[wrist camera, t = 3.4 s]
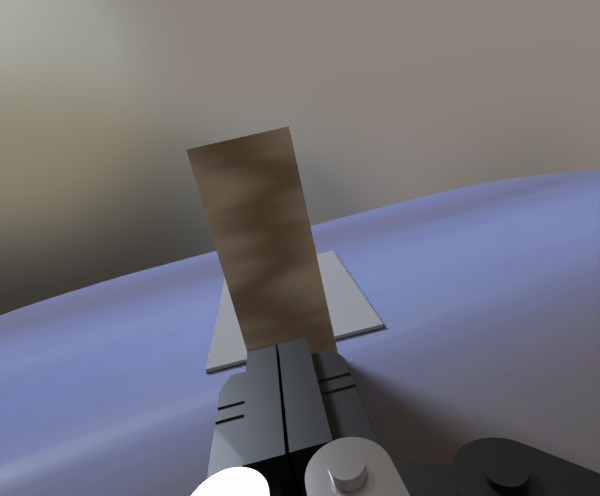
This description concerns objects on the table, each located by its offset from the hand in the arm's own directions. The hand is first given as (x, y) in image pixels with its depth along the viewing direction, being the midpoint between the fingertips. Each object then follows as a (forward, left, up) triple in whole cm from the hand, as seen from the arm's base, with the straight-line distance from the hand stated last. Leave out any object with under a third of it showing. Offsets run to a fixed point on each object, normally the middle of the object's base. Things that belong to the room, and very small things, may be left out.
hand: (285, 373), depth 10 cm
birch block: (0, +13, -10) cm, 17 cm away
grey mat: (0, +27, -10) cm, 29 cm away
